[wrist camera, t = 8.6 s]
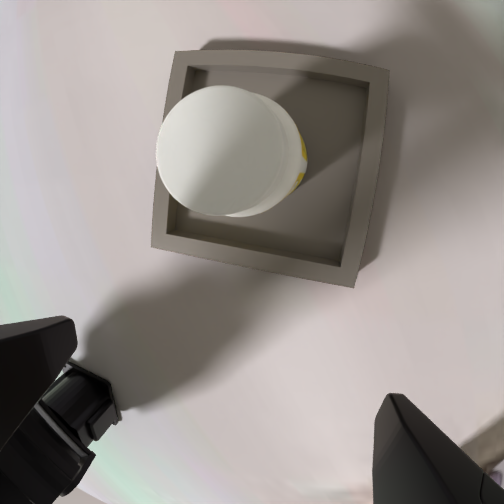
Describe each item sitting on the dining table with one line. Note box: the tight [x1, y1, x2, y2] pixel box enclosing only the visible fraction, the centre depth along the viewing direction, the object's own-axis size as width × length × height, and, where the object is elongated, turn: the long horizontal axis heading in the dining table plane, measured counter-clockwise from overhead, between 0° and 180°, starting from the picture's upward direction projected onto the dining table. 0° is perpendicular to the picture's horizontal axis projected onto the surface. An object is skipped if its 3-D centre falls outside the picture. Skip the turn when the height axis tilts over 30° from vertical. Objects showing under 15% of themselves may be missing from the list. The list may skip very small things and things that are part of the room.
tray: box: [151, 50, 389, 288], centre depth 16 cm, size 12×12×2 cm
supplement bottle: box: [156, 85, 308, 217], centre depth 12 cm, size 5×5×8 cm
